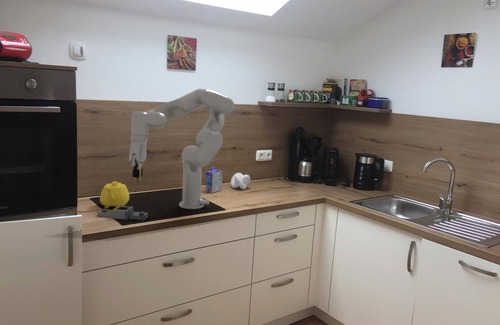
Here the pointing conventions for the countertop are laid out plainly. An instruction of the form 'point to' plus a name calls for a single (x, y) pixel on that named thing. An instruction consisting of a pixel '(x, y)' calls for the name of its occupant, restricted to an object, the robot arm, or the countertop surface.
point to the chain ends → (122, 213)
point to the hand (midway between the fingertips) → (137, 176)
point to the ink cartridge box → (213, 180)
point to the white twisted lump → (240, 181)
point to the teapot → (114, 195)
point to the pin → (138, 180)
